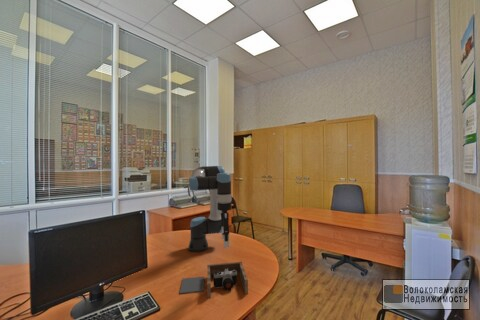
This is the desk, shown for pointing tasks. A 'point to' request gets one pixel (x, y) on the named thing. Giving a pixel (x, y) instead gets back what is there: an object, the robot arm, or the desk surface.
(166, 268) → the desk surface
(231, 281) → the camera
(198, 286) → the mat
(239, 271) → the cubby
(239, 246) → the desk surface
